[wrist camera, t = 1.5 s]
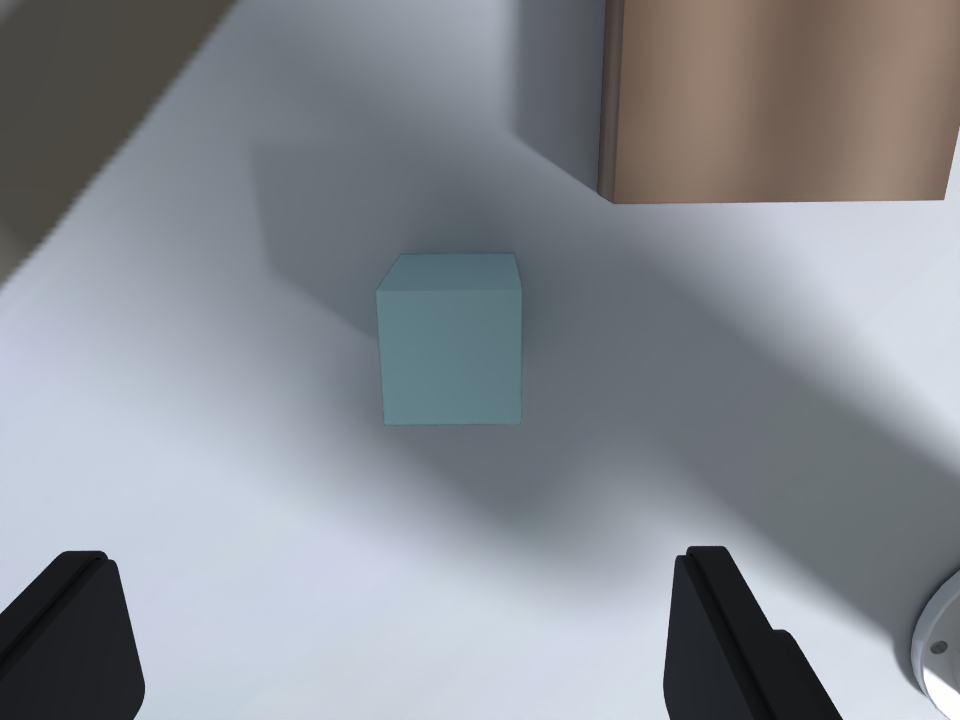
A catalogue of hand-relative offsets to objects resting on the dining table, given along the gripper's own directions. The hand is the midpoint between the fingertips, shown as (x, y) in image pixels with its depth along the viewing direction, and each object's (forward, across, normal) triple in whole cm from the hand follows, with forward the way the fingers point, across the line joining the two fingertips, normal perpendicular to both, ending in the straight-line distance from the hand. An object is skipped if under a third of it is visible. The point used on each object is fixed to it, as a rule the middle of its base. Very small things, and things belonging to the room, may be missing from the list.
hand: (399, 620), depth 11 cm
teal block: (+20, 0, 0) cm, 20 cm away
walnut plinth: (+20, -12, -11) cm, 26 cm away
